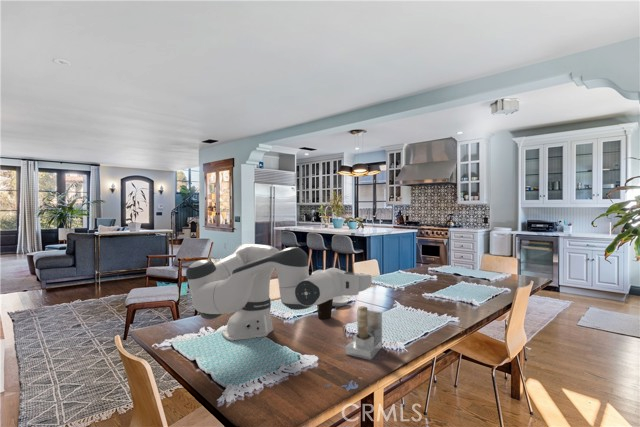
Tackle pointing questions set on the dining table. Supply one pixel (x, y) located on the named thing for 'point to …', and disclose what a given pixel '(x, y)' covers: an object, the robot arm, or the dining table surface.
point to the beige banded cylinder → (362, 322)
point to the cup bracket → (374, 341)
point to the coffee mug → (325, 309)
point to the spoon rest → (339, 301)
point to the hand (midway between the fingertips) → (350, 274)
